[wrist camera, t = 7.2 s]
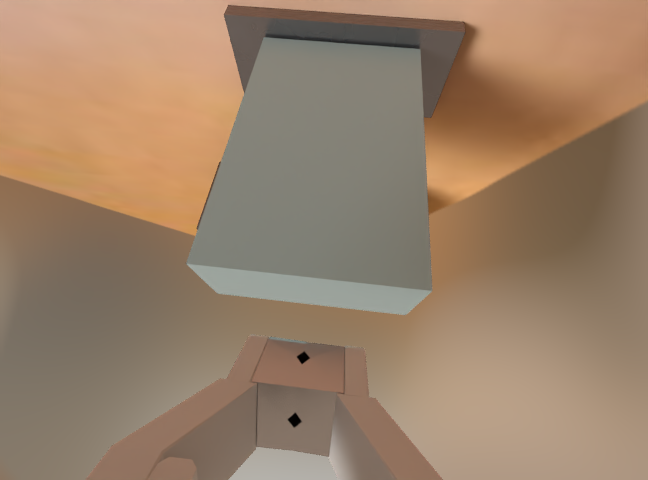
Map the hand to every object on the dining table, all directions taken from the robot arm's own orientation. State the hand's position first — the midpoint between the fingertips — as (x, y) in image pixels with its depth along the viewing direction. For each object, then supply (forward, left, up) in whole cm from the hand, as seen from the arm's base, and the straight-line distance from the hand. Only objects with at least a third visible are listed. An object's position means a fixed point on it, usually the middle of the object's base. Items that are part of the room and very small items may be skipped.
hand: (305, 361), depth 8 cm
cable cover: (+4, -1, -18) cm, 19 cm away
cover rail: (+4, -1, -19) cm, 20 cm away
